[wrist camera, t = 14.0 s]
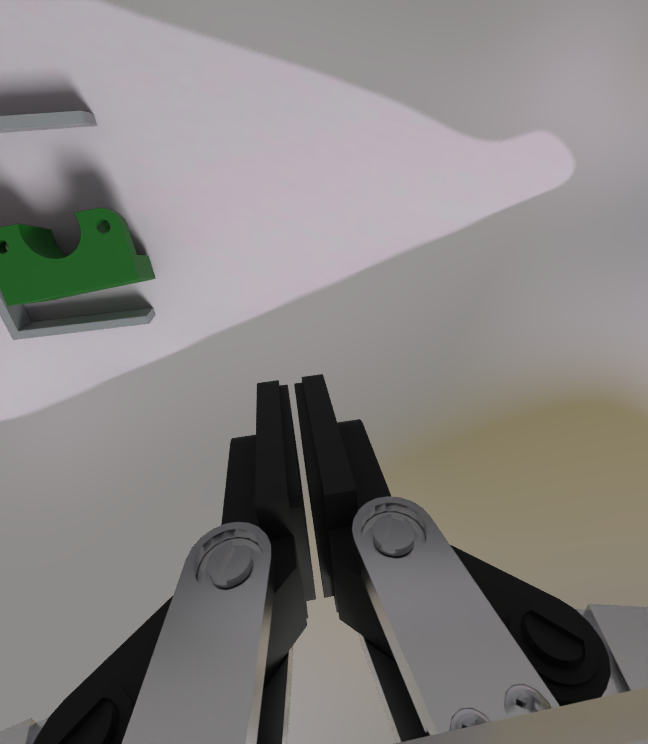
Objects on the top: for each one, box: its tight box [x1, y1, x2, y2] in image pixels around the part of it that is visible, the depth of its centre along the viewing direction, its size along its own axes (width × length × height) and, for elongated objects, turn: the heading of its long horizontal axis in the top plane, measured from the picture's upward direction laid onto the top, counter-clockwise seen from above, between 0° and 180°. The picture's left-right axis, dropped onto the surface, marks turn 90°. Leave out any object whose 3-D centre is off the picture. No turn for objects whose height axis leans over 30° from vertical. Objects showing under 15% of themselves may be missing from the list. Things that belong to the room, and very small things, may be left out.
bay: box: [0, 111, 155, 340], centre depth 32 cm, size 13×18×6 cm
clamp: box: [0, 208, 155, 306], centre depth 34 cm, size 12×6×9 cm, turn 96°
